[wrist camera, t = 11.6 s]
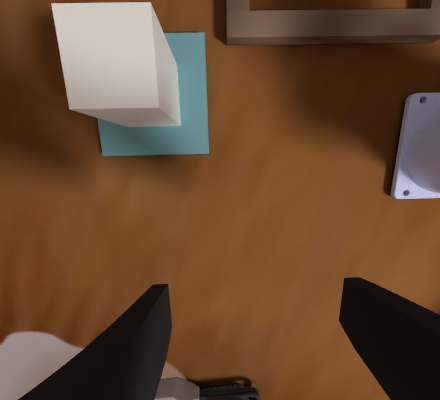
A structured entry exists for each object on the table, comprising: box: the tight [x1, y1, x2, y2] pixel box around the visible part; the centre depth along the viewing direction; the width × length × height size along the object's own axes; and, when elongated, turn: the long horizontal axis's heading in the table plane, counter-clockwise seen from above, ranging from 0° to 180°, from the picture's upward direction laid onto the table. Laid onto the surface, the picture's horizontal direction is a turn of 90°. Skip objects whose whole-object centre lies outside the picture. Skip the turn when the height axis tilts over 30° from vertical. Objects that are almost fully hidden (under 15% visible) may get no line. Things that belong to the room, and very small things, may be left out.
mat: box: [97, 33, 209, 156], centre depth 15 cm, size 8×8×1 cm
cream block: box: [51, 2, 181, 127], centre depth 12 cm, size 4×4×6 cm
